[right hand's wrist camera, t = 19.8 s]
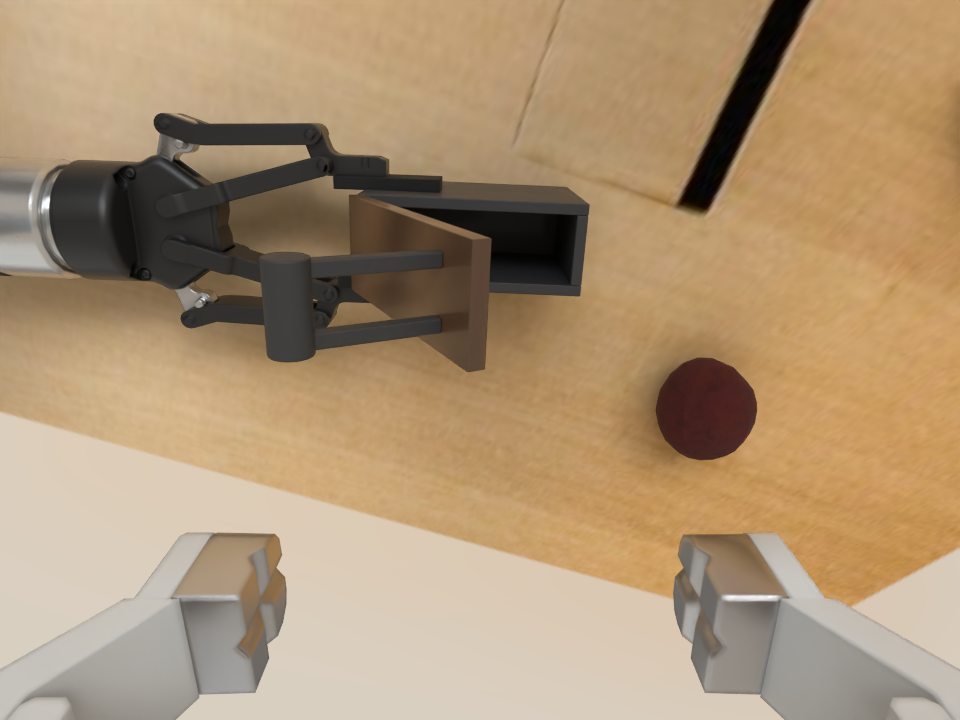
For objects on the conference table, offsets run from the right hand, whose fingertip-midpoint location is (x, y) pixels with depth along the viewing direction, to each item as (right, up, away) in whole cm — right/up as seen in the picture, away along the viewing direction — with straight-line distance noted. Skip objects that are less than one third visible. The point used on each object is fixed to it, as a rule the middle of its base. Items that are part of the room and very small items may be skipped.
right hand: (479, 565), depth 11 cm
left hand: (-3, +12, +30) cm, 33 cm away
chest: (0, +14, +36) cm, 39 cm away
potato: (+17, +1, +41) cm, 44 cm away
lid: (-3, +8, +21) cm, 22 cm away
